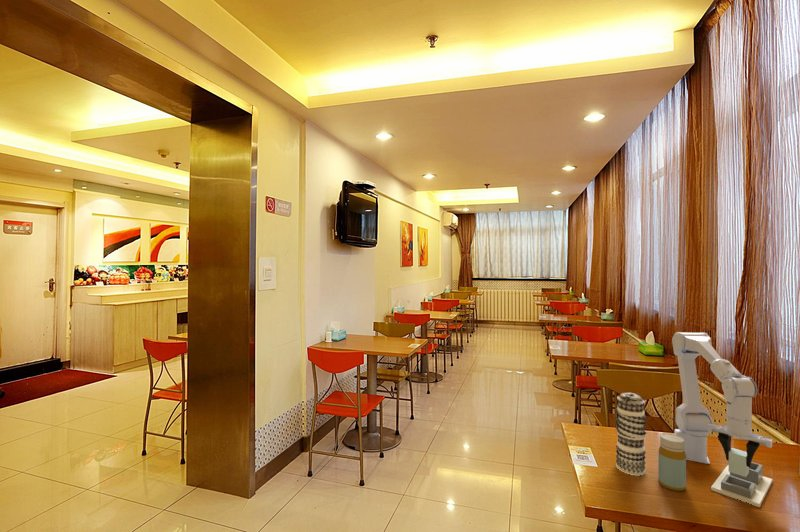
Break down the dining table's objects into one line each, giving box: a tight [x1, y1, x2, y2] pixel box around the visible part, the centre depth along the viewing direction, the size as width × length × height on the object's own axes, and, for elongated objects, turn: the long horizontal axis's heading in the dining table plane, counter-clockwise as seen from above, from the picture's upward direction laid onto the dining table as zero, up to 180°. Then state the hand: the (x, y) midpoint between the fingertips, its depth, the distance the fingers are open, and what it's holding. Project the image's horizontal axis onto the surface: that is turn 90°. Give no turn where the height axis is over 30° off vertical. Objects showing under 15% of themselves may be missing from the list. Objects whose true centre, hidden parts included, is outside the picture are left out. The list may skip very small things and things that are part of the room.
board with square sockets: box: [710, 461, 773, 508], centre depth 122 cm, size 20×11×5 cm, turn 129°
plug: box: [728, 447, 749, 477], centre depth 119 cm, size 5×4×6 cm
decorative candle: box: [614, 392, 648, 477], centre depth 132 cm, size 9×9×25 cm
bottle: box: [657, 432, 687, 492], centre depth 122 cm, size 7×7×15 cm
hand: (738, 462), depth 118 cm, fingers closed on plug, 4 cm apart
